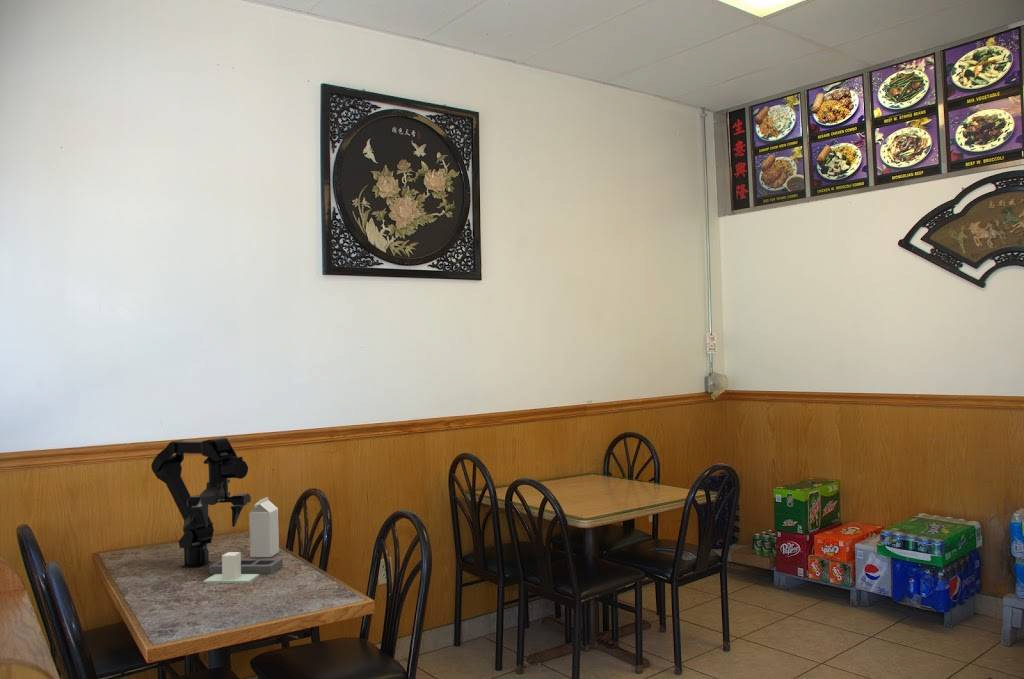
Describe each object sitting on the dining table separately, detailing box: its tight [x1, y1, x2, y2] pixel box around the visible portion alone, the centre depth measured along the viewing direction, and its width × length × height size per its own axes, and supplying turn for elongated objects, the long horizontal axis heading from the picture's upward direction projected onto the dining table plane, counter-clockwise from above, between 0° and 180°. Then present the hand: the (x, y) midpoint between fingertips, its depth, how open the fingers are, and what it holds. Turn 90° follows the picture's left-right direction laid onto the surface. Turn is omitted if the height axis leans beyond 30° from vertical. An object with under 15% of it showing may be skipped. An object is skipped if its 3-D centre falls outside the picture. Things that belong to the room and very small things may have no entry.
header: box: [208, 558, 284, 575], centre depth 242 cm, size 20×9×2 cm, turn 85°
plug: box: [221, 551, 242, 579], centre depth 233 cm, size 4×4×7 cm
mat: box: [203, 574, 260, 584], centre depth 232 cm, size 14×7×1 cm, turn 84°
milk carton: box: [249, 496, 280, 558], centre depth 261 cm, size 7×7×19 cm
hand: (219, 527), depth 246 cm, fingers open, 9 cm apart
